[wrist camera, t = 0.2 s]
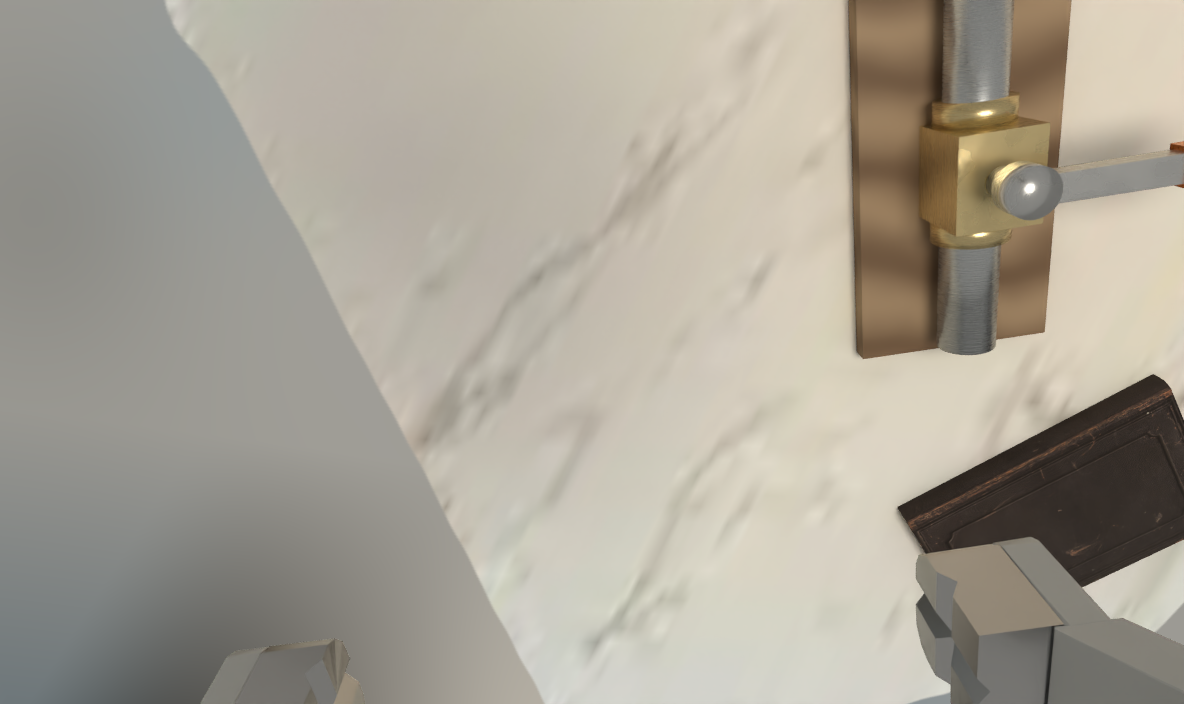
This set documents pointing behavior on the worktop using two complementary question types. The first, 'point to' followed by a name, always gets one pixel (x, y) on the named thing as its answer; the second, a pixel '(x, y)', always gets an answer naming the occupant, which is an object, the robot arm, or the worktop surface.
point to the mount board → (891, 167)
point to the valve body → (973, 169)
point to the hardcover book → (1073, 488)
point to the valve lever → (1083, 181)
